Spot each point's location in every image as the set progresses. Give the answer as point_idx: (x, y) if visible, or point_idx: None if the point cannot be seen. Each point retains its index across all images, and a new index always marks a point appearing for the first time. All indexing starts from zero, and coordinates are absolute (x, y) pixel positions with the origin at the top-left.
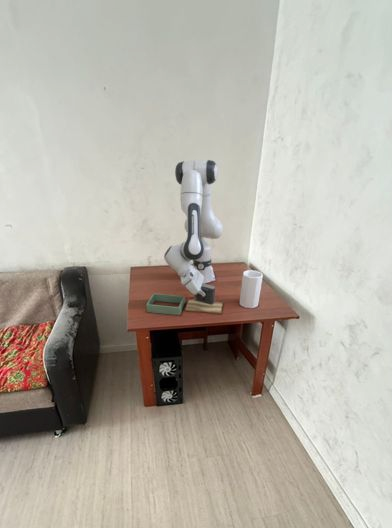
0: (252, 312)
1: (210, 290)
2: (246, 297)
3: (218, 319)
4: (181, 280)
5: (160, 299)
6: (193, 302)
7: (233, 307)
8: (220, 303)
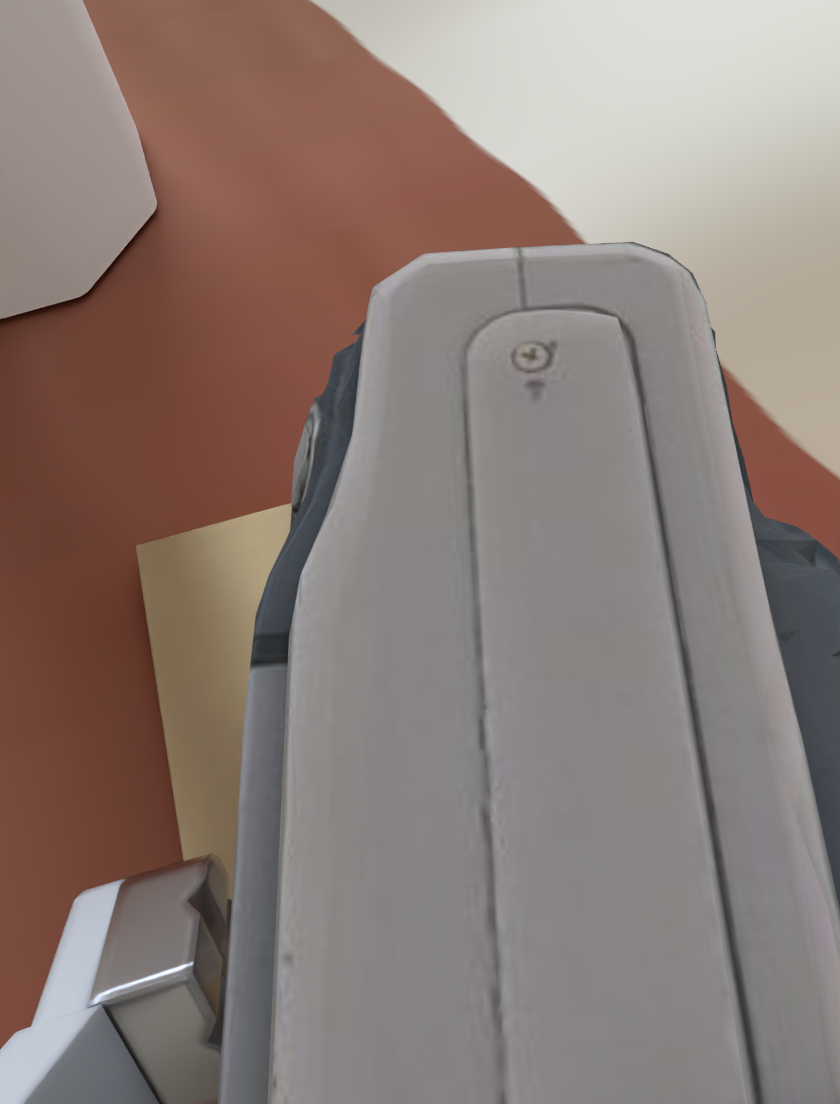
0: (257, 108)
1: (728, 412)
2: (70, 13)
3: (747, 416)
4: None
5: None
6: None
7: (207, 354)
8: (193, 568)
